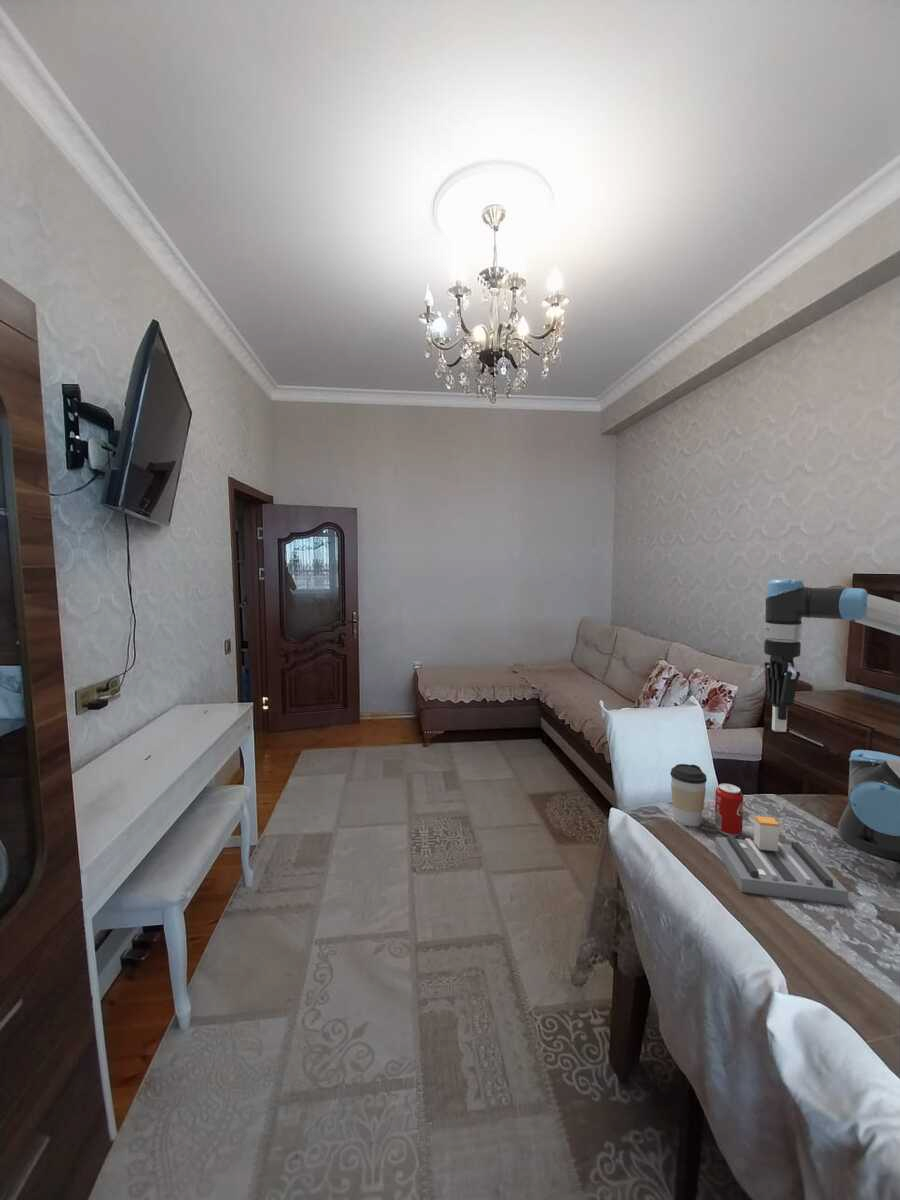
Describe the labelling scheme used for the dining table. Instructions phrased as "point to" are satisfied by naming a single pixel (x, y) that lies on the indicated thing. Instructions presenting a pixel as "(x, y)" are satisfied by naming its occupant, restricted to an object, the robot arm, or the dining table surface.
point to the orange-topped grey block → (766, 833)
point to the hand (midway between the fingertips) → (779, 730)
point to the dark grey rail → (743, 856)
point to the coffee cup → (688, 793)
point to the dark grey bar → (812, 864)
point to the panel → (779, 873)
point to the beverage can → (728, 809)
